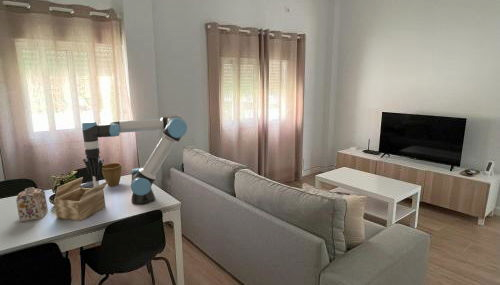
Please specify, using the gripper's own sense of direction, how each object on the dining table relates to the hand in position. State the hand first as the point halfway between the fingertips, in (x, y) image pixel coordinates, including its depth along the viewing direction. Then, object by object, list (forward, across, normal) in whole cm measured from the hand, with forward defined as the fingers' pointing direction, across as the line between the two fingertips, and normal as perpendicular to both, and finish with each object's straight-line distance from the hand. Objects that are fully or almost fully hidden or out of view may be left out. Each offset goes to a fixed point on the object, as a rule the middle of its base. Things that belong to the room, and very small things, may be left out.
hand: (96, 185), depth 183 cm
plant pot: (+19, +28, -47) cm, 58 cm away
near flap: (+3, +2, 0) cm, 4 cm away
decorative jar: (+19, +38, +11) cm, 44 cm away
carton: (+19, +13, 0) cm, 23 cm away
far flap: (+3, +20, 0) cm, 20 cm away
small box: (+19, +26, -21) cm, 39 cm away
